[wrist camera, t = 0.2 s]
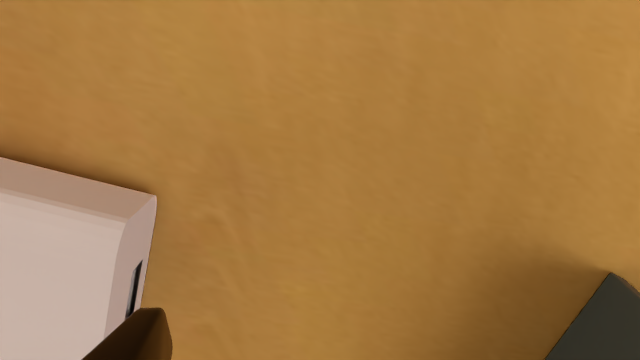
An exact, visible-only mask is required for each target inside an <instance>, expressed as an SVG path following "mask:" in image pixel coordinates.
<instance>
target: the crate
mask: <svg viewBox="0 0 640 360" xmlns="http://www.w3.org/2000/svg"><path fill="white" fill-rule="evenodd" d="M545 360H640V293H639V292H638V291H637V290H636V289H635V288H634V287H632V286H631V285H630V284H629V283H628V282H627V281H626V280H624V279H623V278H621V277H619V276H617V275H615V274H613V273H610V274H609V275H608V277H607V278H606V279H605V281H604V282H603V283H602V285H601V286H600V287H599V289H598V290H597V291H596V293H595V294H594V295H593V297H592V298H591V299H590V300H589V302H588V303H587V304H586V306H585V307H584V308H583V310H582V311H581V312H580V314H579V315H578V316H577V318H576V319H575V320H574V322H573V323H572V324H571V326H570V327H569V328H568V330H567V331H566V332H565V334H564V335H563V336H562V338H561V339H560V340H559V342H558V343H557V344H556V346H555V347H554V348H553V350H552V351H551V352H550V354H549V355H548V356H547V358H546V359H545Z"/></svg>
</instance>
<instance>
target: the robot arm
mask: <svg viewBox="0 0 640 360" xmlns="http://www.w3.org/2000/svg"><path fill="white" fill-rule="evenodd" d="M171 357H172V339H171V335H170V331H169V327H168V323H167V319H166V315H165V312H164V310H163V309H161V308H140V309H138V310H136V311H135V312H134V313H133V314H131V315H130V316H129V317H128V318H127V319H126V320H125V321H124V322H123V323H121V324H120V325H119V326H118V327H117V328H116V329H115V330H114V331H113V332H111V333H110V334H109V335H108V336H107V337H106V338H105V339H104V340H103V341H101V342H100V343H99V344H98V345H97V346H96V347H95V348H94V349H93V350H91V351H90V352H89V353H88V354H87V355H86V356H85V357H84V358H83V359H81V360H171Z"/></svg>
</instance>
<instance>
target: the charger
mask: <svg viewBox="0 0 640 360" xmlns="http://www.w3.org/2000/svg"><path fill="white" fill-rule="evenodd" d="M156 208H157V198H156V195H152V194H148V193H144V192H140V191H135V190H131V189H127V188H123V187H119V186H115V185H111V184H107V183H103V182H99V181H95V180H91V179H87V178H83V177H79V176H75V175H71V174H67V173H63V172H59V171H55V170H51V169H46V168H42V167H38V166H34V165H30V164H26V163H22V162H18V161H14V160H10V159H6V158H2V157H0V360H81V359H83V358H84V357H85V356H86V355H87V354H88V353H89V352H90V351H91V350H93V349H94V348H95V347H96V346H97V345H98V344H99V343H100V342H101V341H103V340H104V339H105V338H106V337H107V336H108V335H109V334H110V333H111V332H113V331H114V330H115V329H116V328H117V327H118V326H119V325H120V324H121V323H123V322H124V321H125V320H126V319H127V318H128V317H129V316H130V315H131V314H133V313H134V312H135V311H136V310H138V309H140V304H141V298H142V293H143V287H144V281H145V275H146V270H147V264H148V258H149V252H150V247H151V241H152V235H153V229H154V224H155V217H156Z"/></svg>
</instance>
